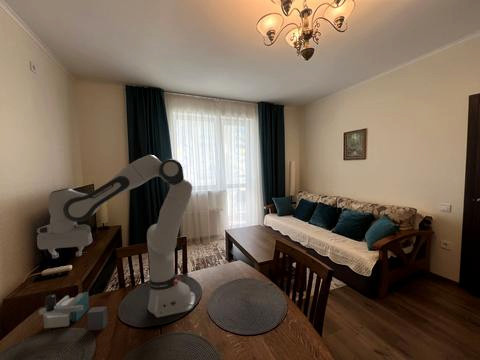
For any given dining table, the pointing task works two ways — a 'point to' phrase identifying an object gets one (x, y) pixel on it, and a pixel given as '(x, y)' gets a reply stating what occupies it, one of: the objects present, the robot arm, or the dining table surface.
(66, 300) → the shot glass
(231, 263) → the dining table surface
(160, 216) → the robot arm
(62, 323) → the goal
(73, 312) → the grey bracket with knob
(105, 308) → the rod housing
